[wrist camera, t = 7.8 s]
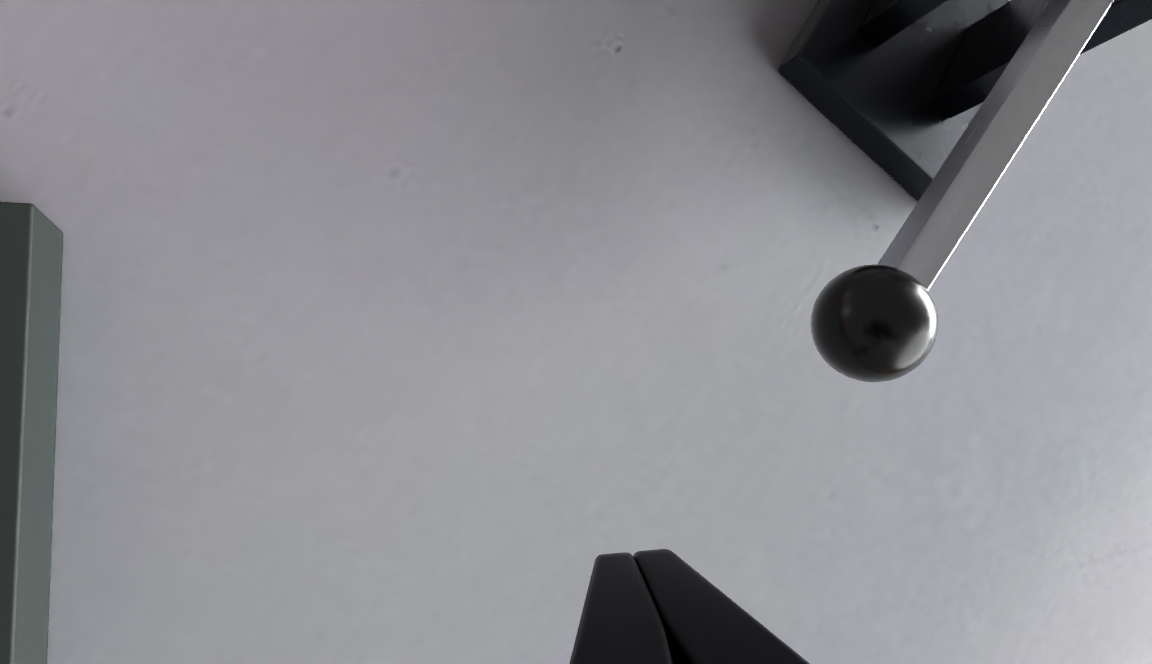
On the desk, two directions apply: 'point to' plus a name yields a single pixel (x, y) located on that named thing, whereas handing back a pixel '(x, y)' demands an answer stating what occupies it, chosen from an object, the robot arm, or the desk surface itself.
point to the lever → (946, 211)
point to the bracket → (917, 70)
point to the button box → (27, 425)
